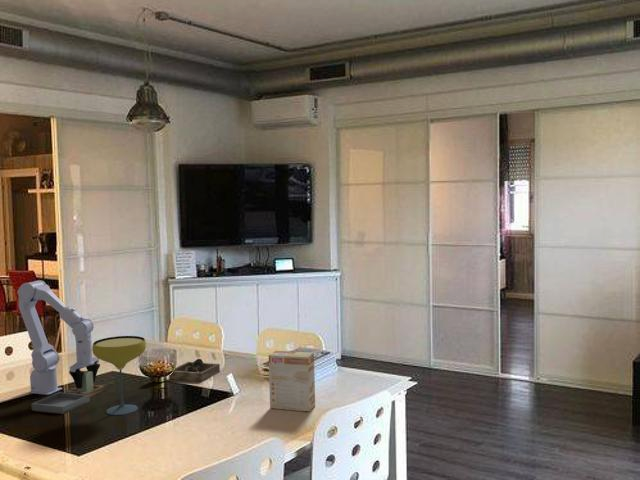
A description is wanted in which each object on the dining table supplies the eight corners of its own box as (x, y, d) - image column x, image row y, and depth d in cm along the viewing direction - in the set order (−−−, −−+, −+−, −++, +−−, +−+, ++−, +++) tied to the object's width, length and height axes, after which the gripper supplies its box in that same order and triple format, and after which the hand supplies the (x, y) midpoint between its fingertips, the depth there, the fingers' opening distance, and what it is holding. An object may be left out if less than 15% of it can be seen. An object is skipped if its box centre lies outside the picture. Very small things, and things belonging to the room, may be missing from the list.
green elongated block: (78, 393, 247) (77, 373, 246) (85, 390, 250) (84, 370, 250) (86, 394, 245) (85, 374, 245) (93, 391, 249) (92, 371, 249)
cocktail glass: (99, 422, 214) (96, 349, 212) (92, 407, 230) (88, 339, 228) (153, 413, 222) (150, 343, 220) (142, 399, 238) (139, 333, 236)
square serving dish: (169, 379, 264) (169, 371, 263) (188, 369, 278) (188, 361, 278) (202, 382, 259) (201, 373, 258) (219, 371, 273) (219, 364, 273)
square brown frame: (65, 395, 245) (65, 391, 245) (83, 387, 254) (83, 383, 254) (88, 397, 241) (87, 393, 241) (105, 389, 251) (105, 385, 251)
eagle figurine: (206, 374, 266) (207, 365, 274) (195, 362, 264) (197, 353, 272) (191, 384, 266) (192, 374, 275) (180, 372, 264) (182, 362, 273)
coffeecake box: (315, 406, 226) (314, 352, 225) (309, 412, 219) (307, 357, 218) (277, 402, 231) (275, 349, 230) (269, 408, 224) (267, 354, 223)
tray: (31, 410, 228) (31, 403, 228) (59, 398, 241) (59, 392, 241) (63, 413, 223) (63, 407, 223) (89, 401, 236) (89, 395, 236)
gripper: (79, 356, 239) (81, 391, 240) (104, 347, 252) (106, 380, 253) (64, 355, 241) (66, 390, 242) (89, 346, 255) (91, 379, 256)
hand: (85, 385), depth 248 cm, fingers open, 7 cm apart
